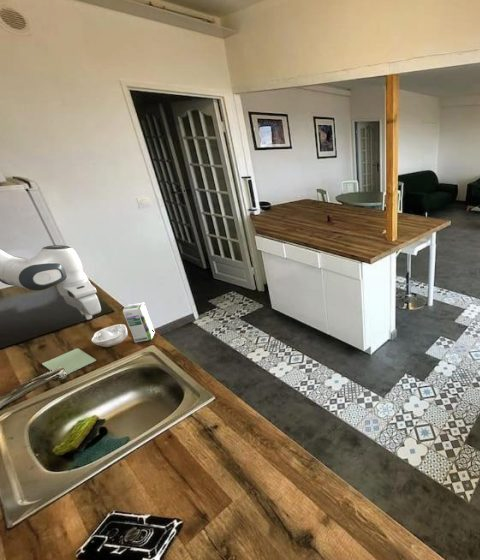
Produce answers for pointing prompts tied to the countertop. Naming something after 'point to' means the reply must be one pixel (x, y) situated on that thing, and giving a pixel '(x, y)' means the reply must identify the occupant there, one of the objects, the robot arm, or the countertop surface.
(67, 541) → the countertop surface
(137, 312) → the syrup box
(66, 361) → the dish cloth
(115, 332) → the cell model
